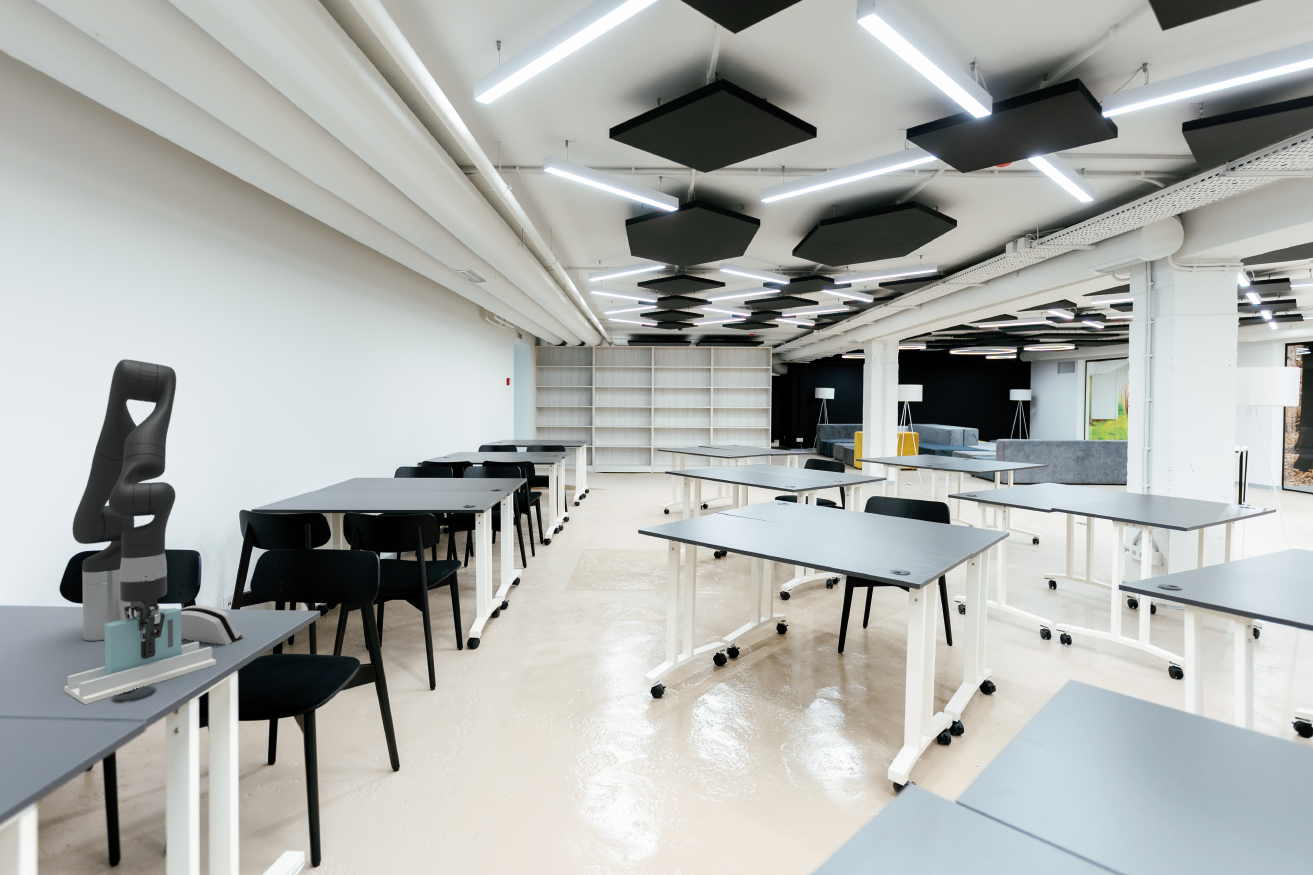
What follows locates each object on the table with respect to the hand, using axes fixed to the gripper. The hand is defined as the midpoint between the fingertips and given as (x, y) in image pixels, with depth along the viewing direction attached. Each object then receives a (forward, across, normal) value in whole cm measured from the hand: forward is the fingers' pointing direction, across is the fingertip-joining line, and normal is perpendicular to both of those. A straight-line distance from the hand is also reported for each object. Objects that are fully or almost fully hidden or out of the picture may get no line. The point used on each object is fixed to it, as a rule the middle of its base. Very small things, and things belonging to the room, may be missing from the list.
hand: (144, 655), depth 125 cm
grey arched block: (+5, -14, +17) cm, 23 cm away
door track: (+5, 0, 0) cm, 5 cm away
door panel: (+2, 0, 0) cm, 2 cm away
